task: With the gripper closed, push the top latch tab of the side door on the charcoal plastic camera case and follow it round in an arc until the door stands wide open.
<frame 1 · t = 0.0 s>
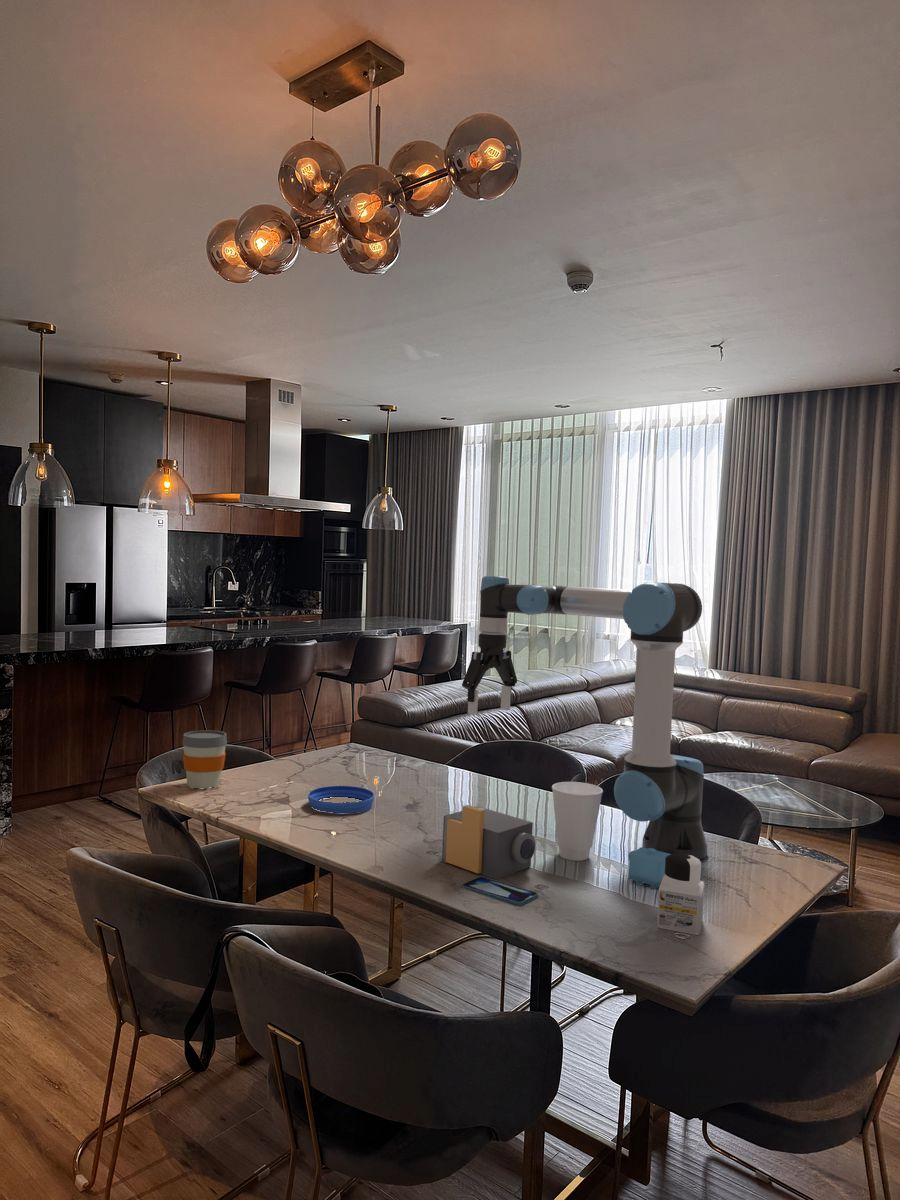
hand: (489, 711, 225), 28 cm above the table, fingers open, 13 cm apart
bowl: (340, 807, 229), on the table
cup: (574, 856, 195), on the table
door: (462, 836, 183), point 7 cm above the table, hinge at 0.0°
teapot: (653, 885, 179), on the table
container: (679, 925, 158), on the table
smartphone: (499, 894, 171), on the table
reusable coffee cup: (203, 785, 243), on the table
case: (486, 863, 187), on the table
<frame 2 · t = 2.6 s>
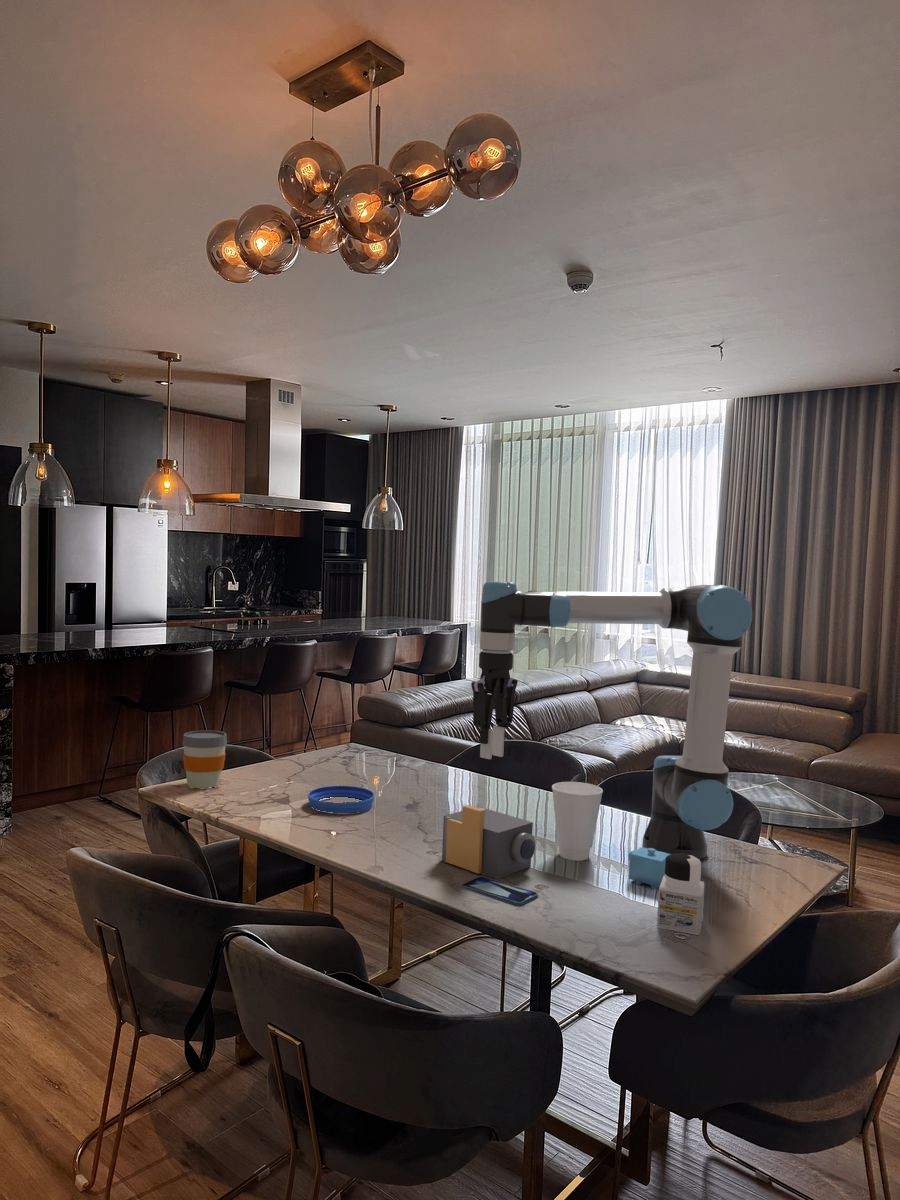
hand: (491, 756, 185), 25 cm above the table, fingers open, 3 cm apart
nothing on the table moved.
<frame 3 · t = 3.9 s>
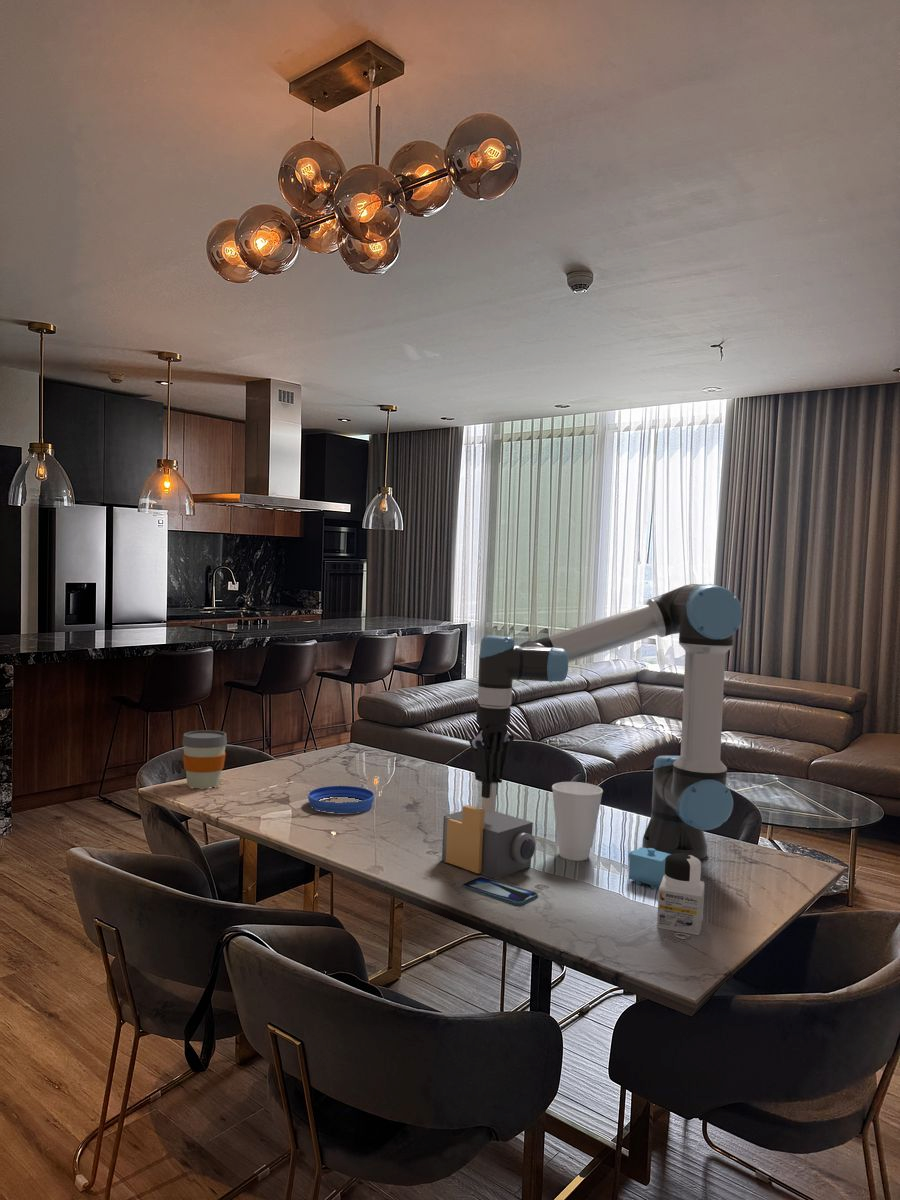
hand: (488, 811, 185), 12 cm above the table, fingers closed
nothing on the table moved.
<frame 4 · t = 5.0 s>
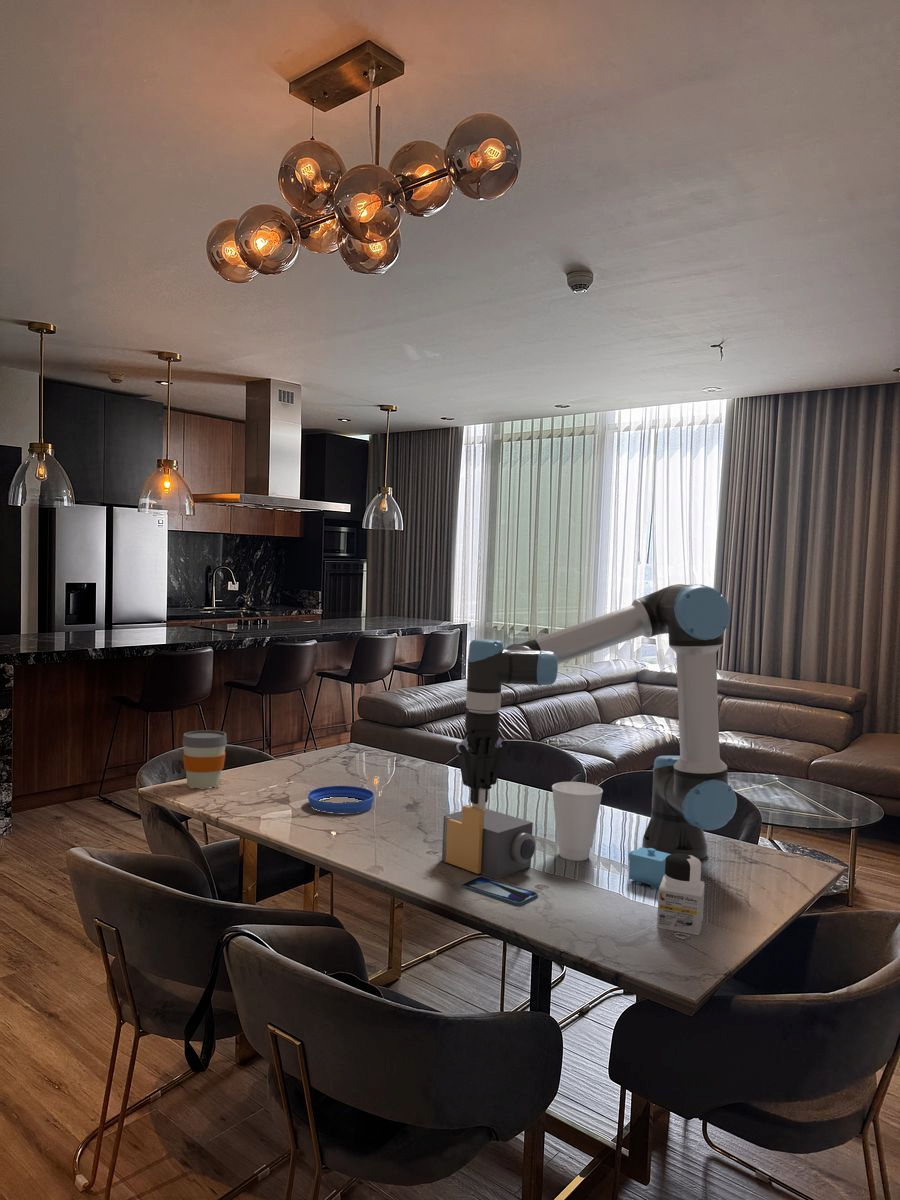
hand: (478, 817, 182), 12 cm above the table, fingers closed
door: (462, 836, 183), point 7 cm above the table, hinge at 0.7°, touching gripper
everything else where it was.
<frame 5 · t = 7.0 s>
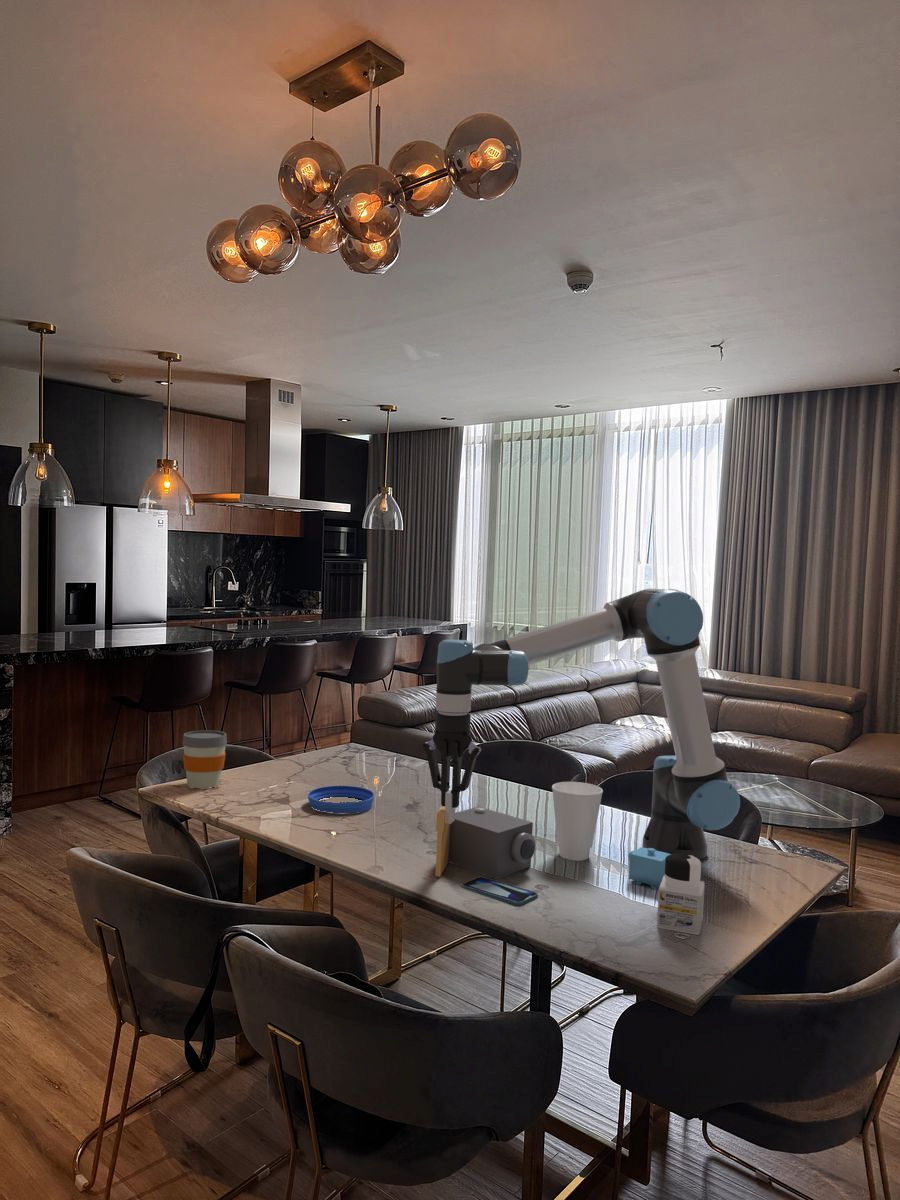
hand: (449, 821, 179), 12 cm above the table, fingers closed
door: (443, 837, 182), point 7 cm above the table, hinge at 56.7°, touching gripper
everything else where it was.
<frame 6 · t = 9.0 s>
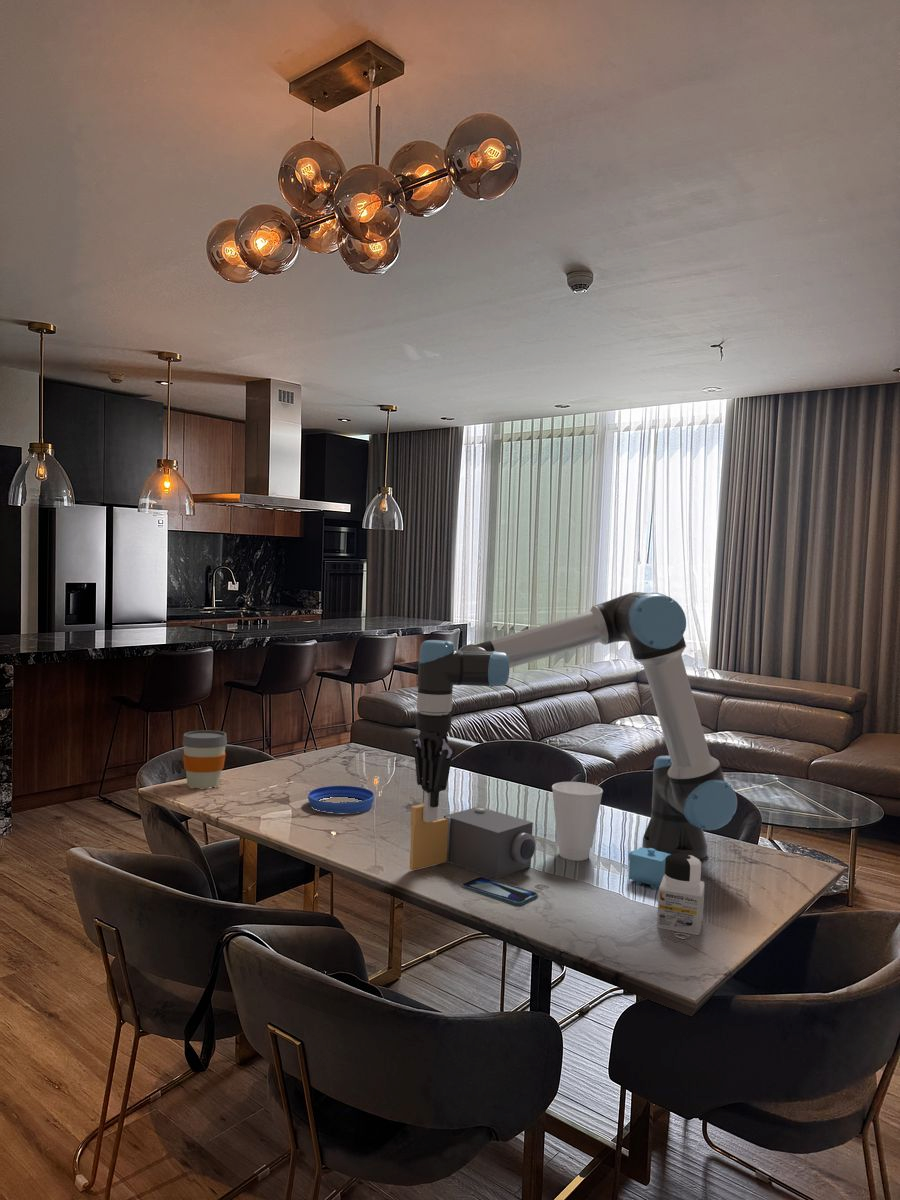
hand: (429, 820, 180), 11 cm above the table, fingers closed
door: (431, 834, 183), point 7 cm above the table, hinge at 95.9°
everything else where it was.
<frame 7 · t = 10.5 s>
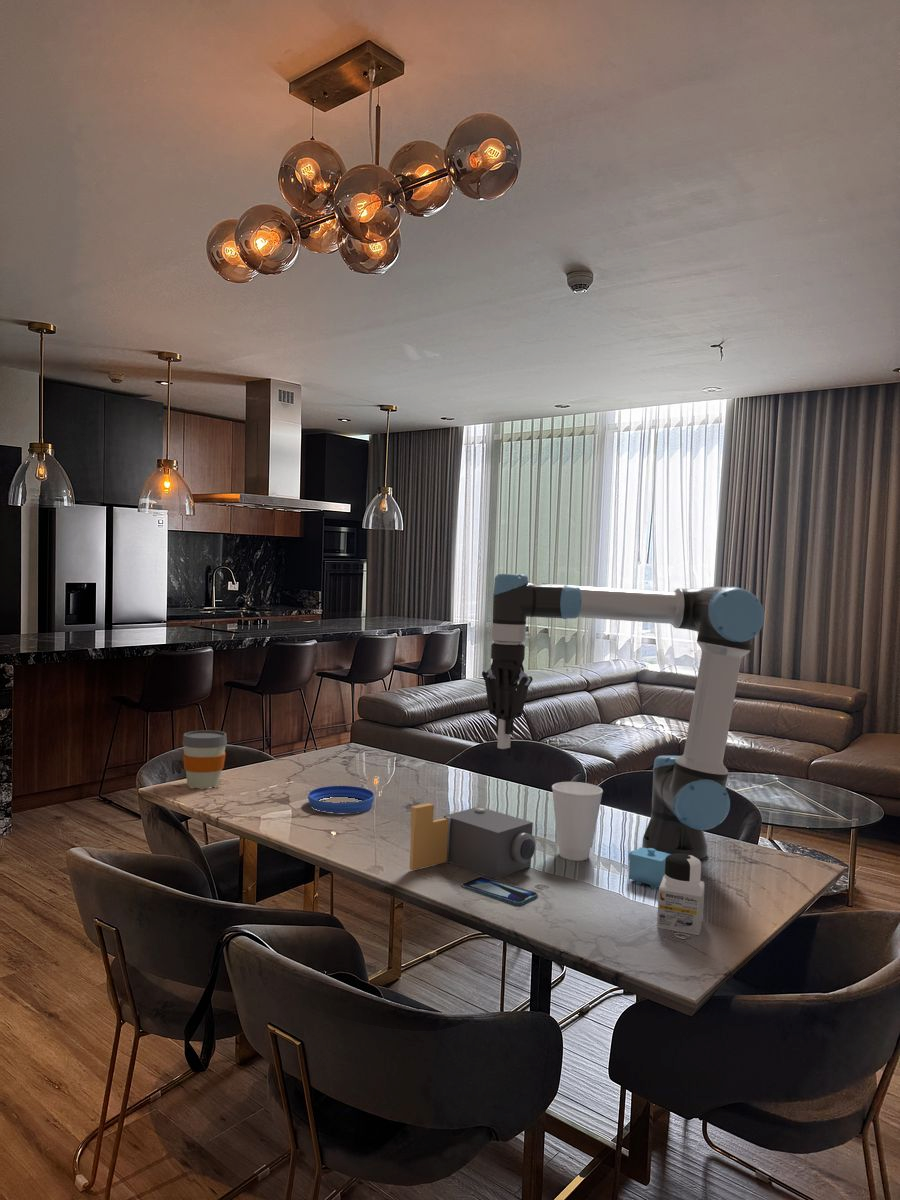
hand: (503, 747, 187), 26 cm above the table, fingers closed
nothing on the table moved.
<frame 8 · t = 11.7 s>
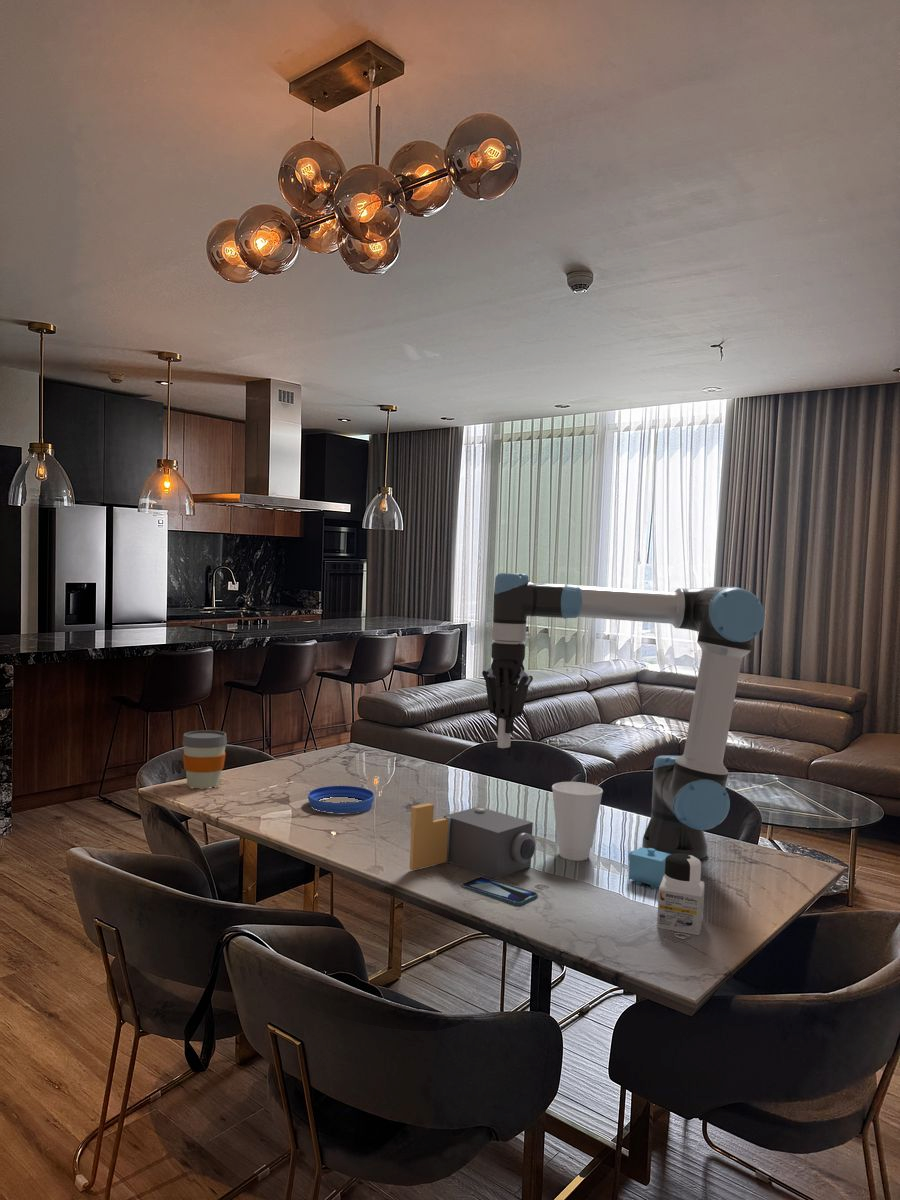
hand: (503, 746, 187), 26 cm above the table, fingers closed
nothing on the table moved.
at the end: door at +96° (first picture: +0°) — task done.
